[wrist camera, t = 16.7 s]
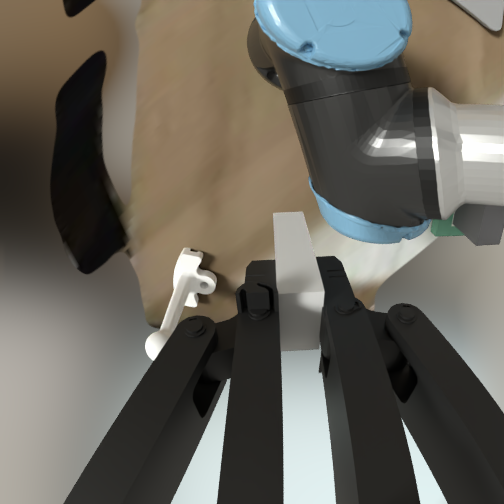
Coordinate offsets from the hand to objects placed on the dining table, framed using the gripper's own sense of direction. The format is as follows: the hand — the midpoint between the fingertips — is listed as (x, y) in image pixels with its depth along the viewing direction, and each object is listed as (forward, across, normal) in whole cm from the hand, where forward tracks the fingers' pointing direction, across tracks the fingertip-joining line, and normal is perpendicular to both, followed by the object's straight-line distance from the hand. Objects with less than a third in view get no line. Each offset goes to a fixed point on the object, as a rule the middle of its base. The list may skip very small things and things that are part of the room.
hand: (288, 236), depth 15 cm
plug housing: (+27, +34, -7) cm, 44 cm away
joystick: (+30, -15, -22) cm, 40 cm away
